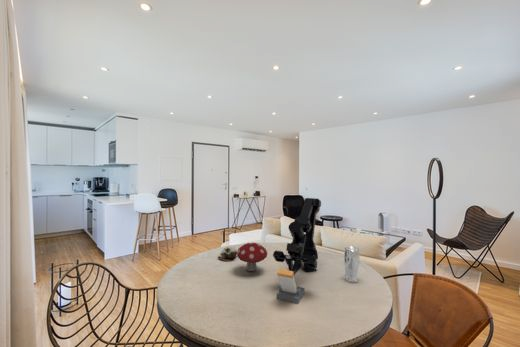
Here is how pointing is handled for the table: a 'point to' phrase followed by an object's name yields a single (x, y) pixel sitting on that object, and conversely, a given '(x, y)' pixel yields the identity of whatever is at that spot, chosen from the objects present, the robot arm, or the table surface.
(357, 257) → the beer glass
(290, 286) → the lever
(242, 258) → the decorative mushroom
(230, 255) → the skull
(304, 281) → the table surface
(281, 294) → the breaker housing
